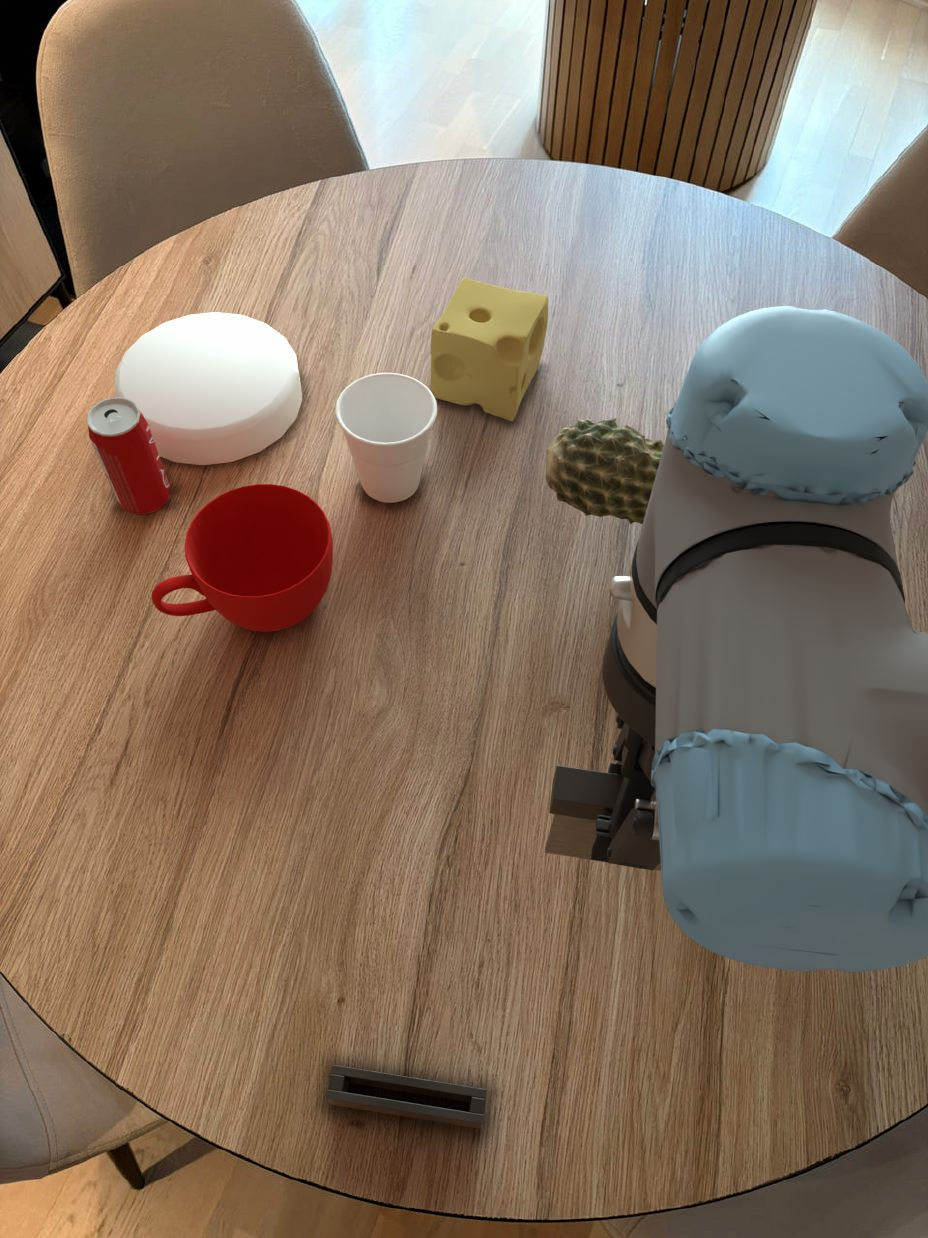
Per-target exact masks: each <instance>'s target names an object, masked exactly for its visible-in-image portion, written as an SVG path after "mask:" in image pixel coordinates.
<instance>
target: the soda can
mask: <svg viewBox="0 0 928 1238" xmlns="http://www.w3.org/2000/svg"><path fill="white" fill-rule="evenodd" d="M86 418H87V419H86V421H87V422H86V423H87V427H88V437H89V440H90V442H91V445H92V447H93V450H94V451H95V453H96V456H97V459H98V460H99V464H100V465H101V468H102V470H103V472H104V475H105V476H106V479H107V481H108V483H109V486H110V488H111V490H112V493H113V495H114V497H115V500H116V502H117V504H118V505H119V506H120V507H121V508H122V510H124V511H125V512H129V513H131V514H135V515H147V514H150V513H154V512H156V511H158V510H160V509H161V508H162V507H164V506H165V505H166V504H167V502H168V501H169V499H170V495H171V491H172V487H171V484H170V482H169V479H168V477H167V473H166V470H165V468H164V464H163V462H162V459H161V456H159V453H158V451H157V448H156V445H155V442H154V439H153V437H152V434H151V431H150V428H149V425H148V422H147V421H146V419H145V417H144V415H143V414H142V412H141V411H140V410H139V408H138V407H137V405H136V404H135V402H133V401H132V400H130V399H127V398H121V397H116V396H115V397H109V398H106V399H103V400H101V401H98V402H97V403H96V404H94V405H93V406H92V407H91V408H90V410H88V413H87V415H86Z"/></svg>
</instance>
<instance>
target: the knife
mask: <svg viewBox="0 0 928 1238" xmlns="http://www.w3.org/2000/svg"><path fill="white" fill-rule="evenodd" d="M623 779H624V776H623V775H618V774H612V773H608V772H605V771H598V770H592V769H584V768H578V767H571V766H565V765H556V767H555V770H554V774H553V779H552V783H551V793H550V801H549V812H548V813H549V814H551V815H553V817H552V822H551V825H550V827H549V828H550V829H549V833H548V836H547V840H546V843H545V847H544V853H545V854H550V855H551V854H552V855H557V856H564V857H570V858H575V859H576V858H577V859H583V860H589V861H592V860H591V854H592V847H593V845H594V842H595V839H596V837H597V835H596V821H597V816H598V815H604V816H605V814H606V811H607V809H612V810H613V809H614V806H615V803H616V800H617V797H618V794H619V791H620V788H621V785H622V782H623ZM600 862H601V863H603V862H602V861H600ZM653 871H660V872H661V862H660V863H659V865H658V866H657V867H656V868H655V869H654V870H653Z"/></svg>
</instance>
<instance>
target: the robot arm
mask: <svg viewBox="0 0 928 1238" xmlns="http://www.w3.org/2000/svg"><path fill="white" fill-rule="evenodd" d="M665 423H666V429H667V431H666V436H665V439H664V444H663V445H664V447H663V451H662V455H661V459H660V463H659V466H658V470H657V474H656V477H655V481H654V485H653V488H652V492H651V496H650V499H649V503H648V507H647V510H646V514H645V517H644V521H643V525H642V524H641V529H640V533H639V536H638V540H637V543H636V546H635V550H634V553H633V557H632V561H631V566H630V569H629V576H627V575H616V576H613V577H612V578H611V580H610V585H609V589H608V591H609V595H610V597H612V598H613V599H617V600H620V603H619V606H618V611H617V612H616V615H615V617H614V620H613V623H612V626H611V630H610V634H609V637H608V641H607V643H606V647H605V651H604V654H603V659H602V665H601V675H602V676H601V677H602V685H603V687H604V691H605V694H606V696H607V699H608V701H609V703H610V705H611V706H612V708H613V710H614V711H615V713H616V716H615V723H616V725H617V730H618V729H619V730H620V732H619V734H618V736H617V738H616V741H615V742H614V745H613V747H612V755H613V760H614V761H616V763H612V762H611V763H610V764H609V768H608V770H607V773H612V774H618V775H623V776H624V779H623V782H622V785H621V788H620V791H619V794H618V797H617V800H616V803H615V806H614V809H613V810H612V809H607V811H606V814H605V816H604V815H598V816H597V821H596V835H597V837H596V839H595V842H594V845H593V847H592V854H591V860H590V861H596V862H601V861H602V862H601V863H607V864H610V865H615V866H616V865H617V866H622V867H628V868H634V869H641V870H648V871H655V870H654V869H655V868H656V867H657V866H658V865H659V863H660V862H661V871H660V873H661V892H662V897H663V901H664V905H665V907H666V910H667V911H668V914H669V915H670V917H671V918H672V920H673V922H674V923H675V925H676V926H677V927H678V929H679V930H680V931H681V932H682V933H683V934H684V935H685V936H686V937H688V938H689V939H690V940H691V941H693V942H694V943H696V944H698V945H699V946H701V947H703V948H704V949H706V950H707V951H710V952H711V953H714V954H715V955H718V956H720V957H723V958H726V959H730V960H733V961H736V962H739V963H743V964H746V965H751V966H757V967H761V968H766V969H774V970H780V971H781V970H782V971H792V972H801V973H802V972H803V973H810V972H814V971H823V970H834V971H839V972H846V973H859V972H860V973H861V972H872V971H873V972H874V971H882V970H887V969H892V968H897V967H898V968H899V967H902V966H906V965H909V964H910V965H911V964H912V963H916V962H918V961H920V960H923V959H925V958H927V957H928V633H927V632H923V631H920V630H915V629H914V628H913V624H912V622H911V619H910V615H909V613H908V610H907V609H908V608H907V607H906V596H905V592H904V587H903V580H902V576H901V572H900V568H899V562H898V556H897V551H896V546H895V539H894V535H893V534H894V533H893V529H892V523H891V509H892V501H893V499H894V495H895V494H896V492H897V491H898V490H899V488H901V487H902V486H904V485H905V484H906V483H908V481H910V479H911V477H912V476H913V474H914V467H915V465H916V459H917V457H918V454H919V452H920V450H921V447H922V444H923V443H924V440H925V437H926V435H927V433H928V380H927V378H926V375H925V374H924V371H922V369H921V368H920V365H918V363H917V362H916V361H915V358H914V357H912V355H911V354H910V353H909V352H908V351H907V350H906V349H905V348H904V347H903V346H902V345H901V344H899V342H897V341H896V340H894V338H892V337H891V336H889V335H888V334H886V333H885V332H883V331H882V330H880V329H878V328H877V327H875V326H873V325H871V324H869V323H867V322H865V321H863V320H860V319H859V318H855V317H853V316H851V315H848V314H844V313H841V312H838V311H834V310H829V309H825V308H823V309H806V308H799V307H795V306H792V305H779V306H771V307H762V308H759V309H755V310H751V311H749V312H748V311H747V312H745V313H742V314H739V315H737V316H735V317H733V318H731V319H729V320H728V321H726V322H724V323H723V324H721V325H719V326H718V327H717V328H715V329H714V330H713V331H712V332H711V333H710V334H709V335H708V336H707V337H705V339H704V340H703V341H702V342H701V344H700V345H699V347H698V348H697V350H696V351H695V353H694V355H693V357H692V360H691V362H690V364H689V368H688V370H687V373H686V375H685V378H684V381H683V383H682V385H681V388H680V391H679V393H678V395H677V398H676V401H675V402H674V405H673V407H671V408H670V409H669V410H668V412H667V415H666V420H665Z"/></svg>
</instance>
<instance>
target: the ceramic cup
mask: <svg viewBox="0 0 928 1238" xmlns="http://www.w3.org/2000/svg"><path fill="white" fill-rule="evenodd" d="M331 528H332V527H331V524H330V522H329V519H328V517H327V515H326V513H325V511H324V510H323V509H322V507H321V506H320V505H319V504H318V502H316V501H315V500H313V498H311V497H310V496H309V495H307V494H305V493H303V492H301V491H300V490H298V489H295V488H292V487H289V486H285V485H280V484H274V483H256V484H249V485H244V486H240V487H237V488H233V489H230V490H228V491H226V492H224V493H221V494H220V495H218V496H216V497H215V498H213V499H212V500H210V501H209V502H207V503H206V504H205V505H204V506H203V507H202V508H201V509H200V510H199V511H198V512H197V514H196V515H195V516H194V518H193V519H192V520H191V522H190V524H189V527H188V529H187V531H186V534H185V540H184V555H185V559H186V562H187V566H188V568H189V571H190V573H191V574H185V575H176V576H171V577H169V578H168V577H167V578H165V579H164V580H162V581H160V582H158V583H157V584H156V585H155V586H154V587H153V590H152V591H151V600H152V601H151V602H152V604H153V606H154V607H155V608H156V610H157V611H159V612H160V613H162V614H164V615H168V616H172V617H189V616H194V615H200V614H204V613H208V612H214V611H216V612H217V613H219V615H221V616H222V618H224V619H226V620H227V621H229V622H231V623H233V624H234V625H236V626H238V627H241V628H243V629H247V630H249V631H255V632H276V631H282V630H286V629H288V628H292V627H294V626H296V625H298V624H299V623H300V622H302V621H304V620H305V619H307V618H308V617H309V616H310V615H311V614H312V613H313V612H314V611H315V610H316V609H317V608H318V607H319V605H320V604H321V602H322V600H323V599H324V597H325V595H326V593H327V591H328V588H329V585H330V582H331V578H332V572H333V561H334V559H333V558H334V540H333V535H332V529H331ZM181 589H191V590H193V591H195V592H197V593H199V594H200V595H201V596H203V597H205V598H203V599H200V600H195V601H190V602H183V603H171V602H166V601H163V600H162V599H163V598H164V597H165V596H166V595H168V594H169V593H172V592H175V591H177V590H181Z"/></svg>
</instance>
